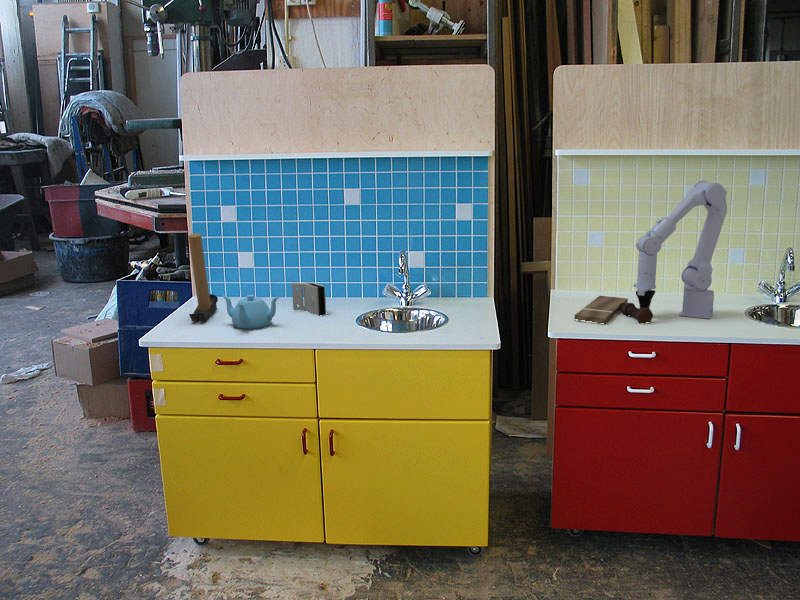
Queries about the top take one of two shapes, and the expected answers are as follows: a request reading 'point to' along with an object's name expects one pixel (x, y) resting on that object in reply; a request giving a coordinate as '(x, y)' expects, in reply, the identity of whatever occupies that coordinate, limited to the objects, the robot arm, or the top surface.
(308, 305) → the hinge
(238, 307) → the teapot
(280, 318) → the top surface
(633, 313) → the bolt
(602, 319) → the plank
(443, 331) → the top surface
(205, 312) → the hammer
